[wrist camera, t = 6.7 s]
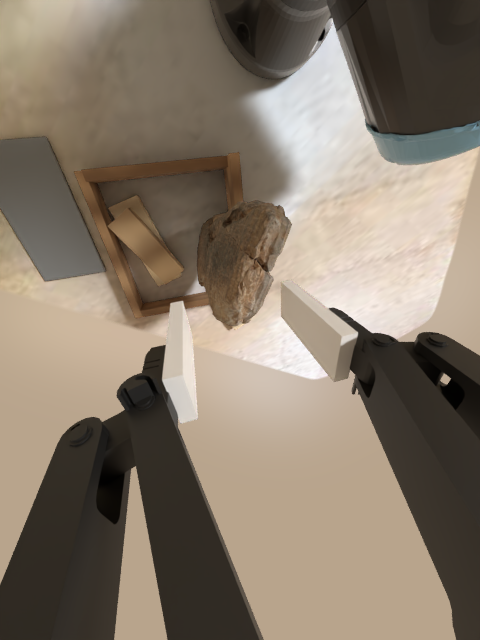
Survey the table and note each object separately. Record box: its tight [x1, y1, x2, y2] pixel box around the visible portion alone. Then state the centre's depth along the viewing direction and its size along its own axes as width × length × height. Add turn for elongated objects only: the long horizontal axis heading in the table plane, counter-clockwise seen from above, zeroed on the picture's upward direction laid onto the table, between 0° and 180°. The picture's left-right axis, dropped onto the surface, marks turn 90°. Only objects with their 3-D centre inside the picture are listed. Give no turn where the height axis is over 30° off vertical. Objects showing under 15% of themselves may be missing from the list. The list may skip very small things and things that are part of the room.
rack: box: [74, 152, 243, 318], centre depth 33 cm, size 21×20×6 cm
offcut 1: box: [108, 195, 182, 287], centre depth 35 cm, size 13×4×2 cm, turn 20°
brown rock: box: [197, 200, 292, 327], centre depth 28 cm, size 14×5×20 cm, turn 161°
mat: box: [0, 137, 106, 281], centre depth 30 cm, size 17×9×1 cm, turn 6°
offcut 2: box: [108, 207, 184, 284], centre depth 33 cm, size 11×4×2 cm, turn 35°
